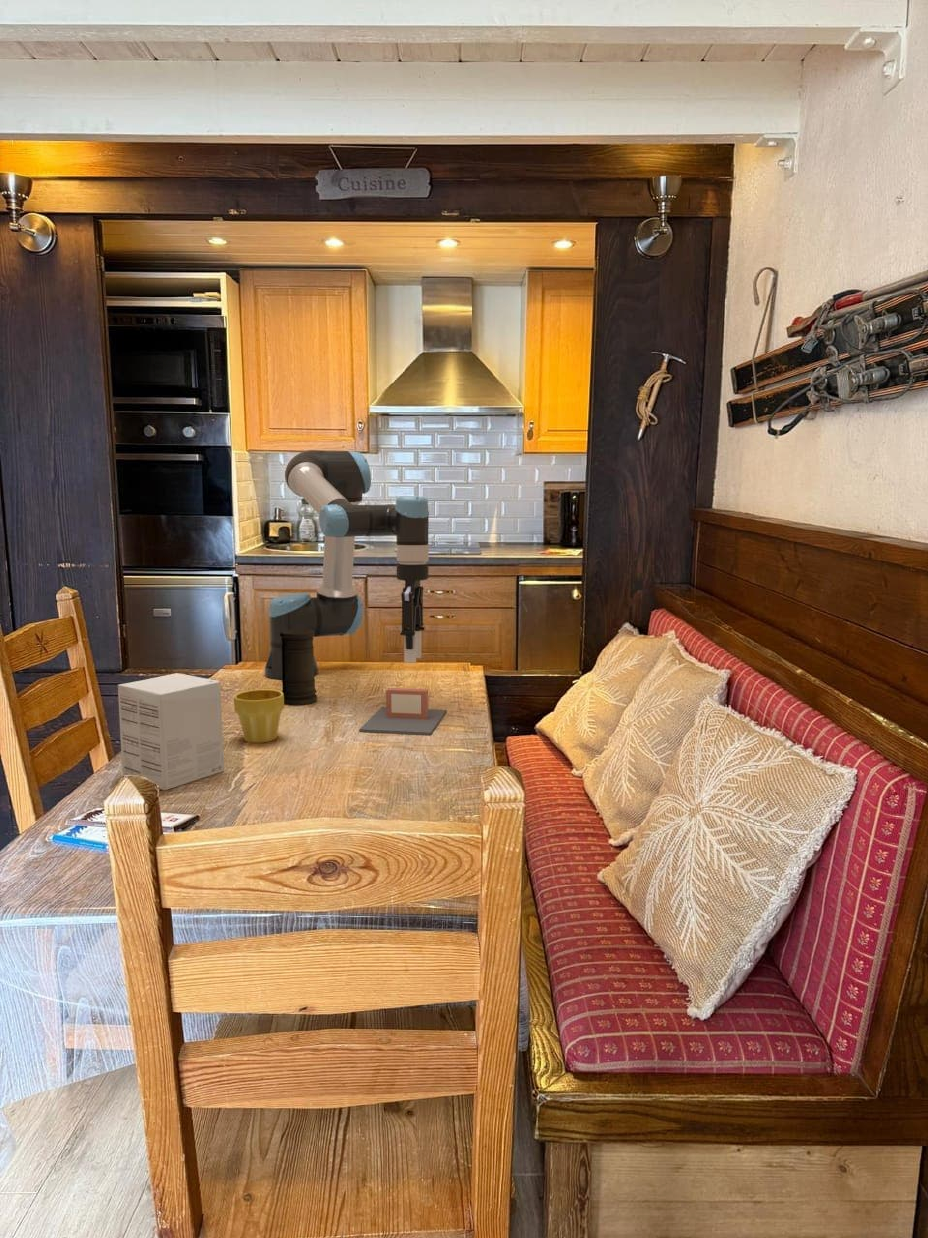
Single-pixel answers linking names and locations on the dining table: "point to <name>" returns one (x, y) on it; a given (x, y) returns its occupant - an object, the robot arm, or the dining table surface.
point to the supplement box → (171, 729)
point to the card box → (407, 703)
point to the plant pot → (259, 713)
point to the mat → (403, 723)
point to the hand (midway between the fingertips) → (412, 659)
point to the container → (298, 667)
